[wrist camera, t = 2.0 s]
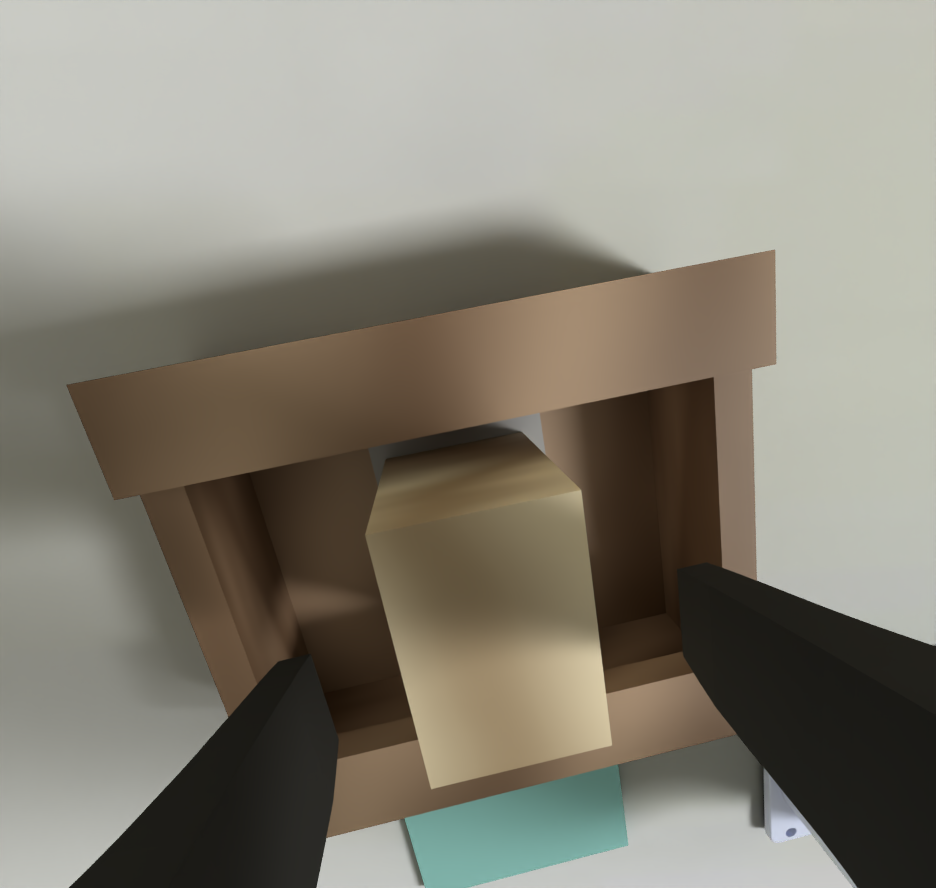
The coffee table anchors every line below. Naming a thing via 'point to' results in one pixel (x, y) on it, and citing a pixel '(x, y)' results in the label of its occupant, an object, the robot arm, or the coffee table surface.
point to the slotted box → (436, 426)
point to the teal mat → (520, 830)
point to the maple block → (490, 606)
